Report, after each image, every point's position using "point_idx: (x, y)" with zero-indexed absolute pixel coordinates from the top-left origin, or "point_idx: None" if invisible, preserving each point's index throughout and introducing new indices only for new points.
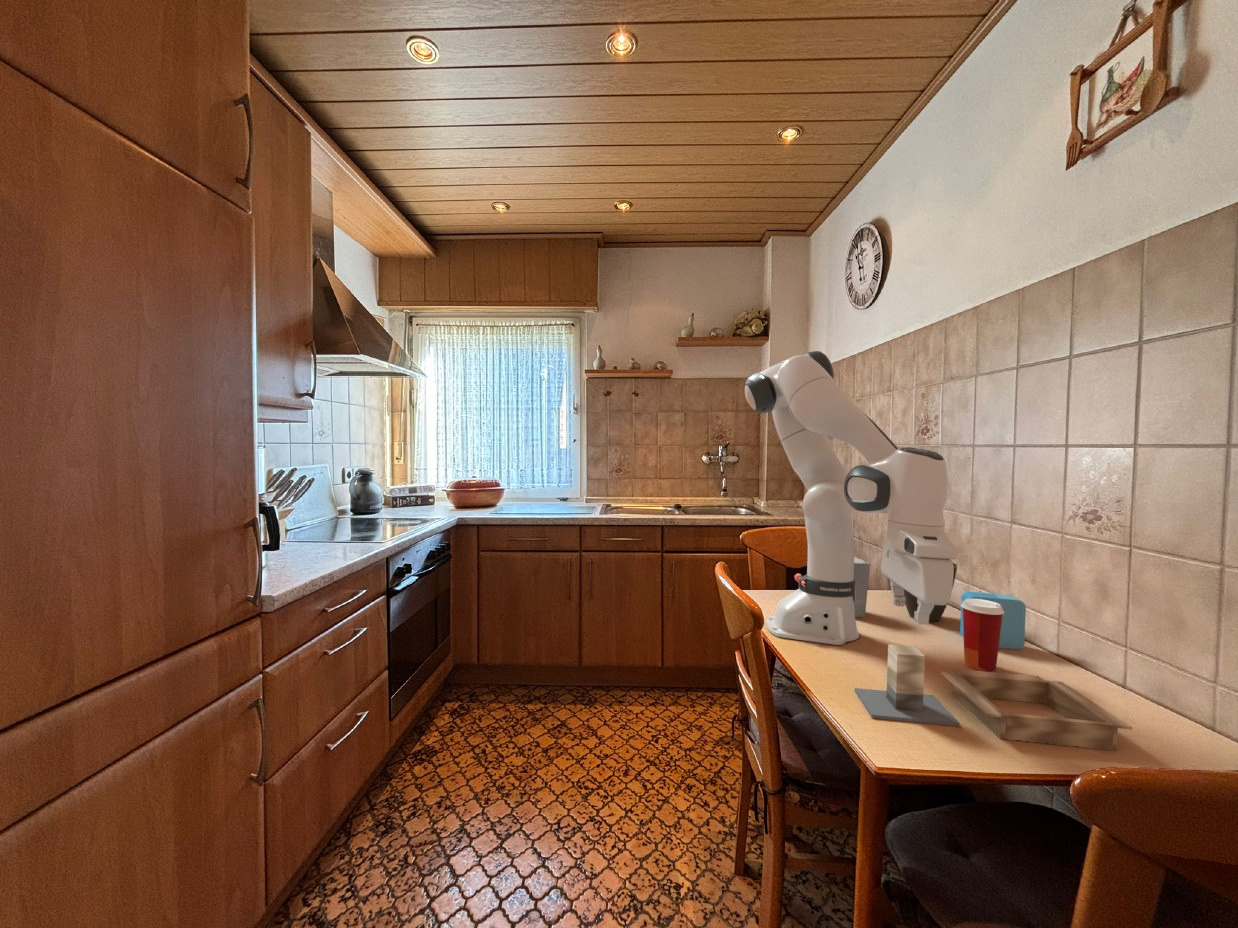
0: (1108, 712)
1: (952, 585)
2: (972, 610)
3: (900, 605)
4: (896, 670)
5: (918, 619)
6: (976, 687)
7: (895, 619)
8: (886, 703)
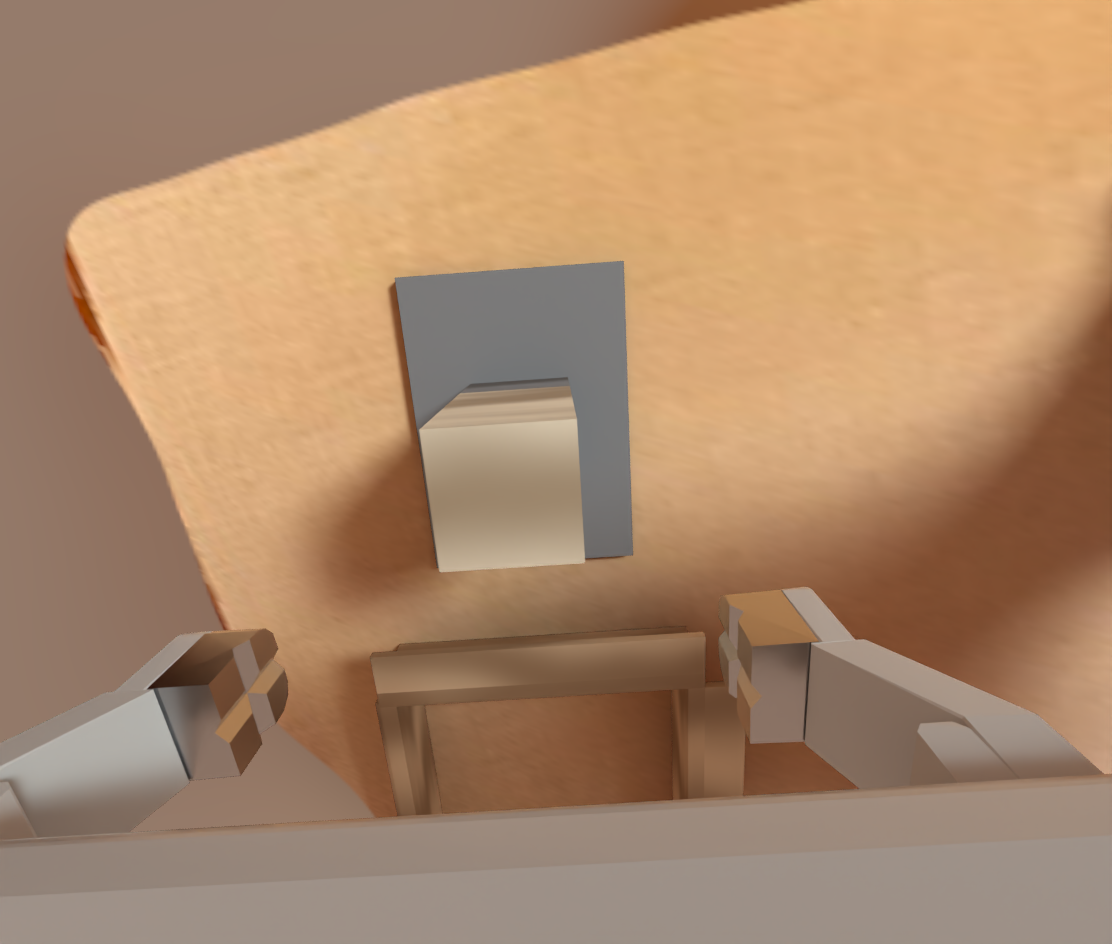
0: None
1: None
2: None
3: (726, 636)
4: (446, 410)
5: (160, 654)
6: (678, 708)
7: None
8: (512, 362)
